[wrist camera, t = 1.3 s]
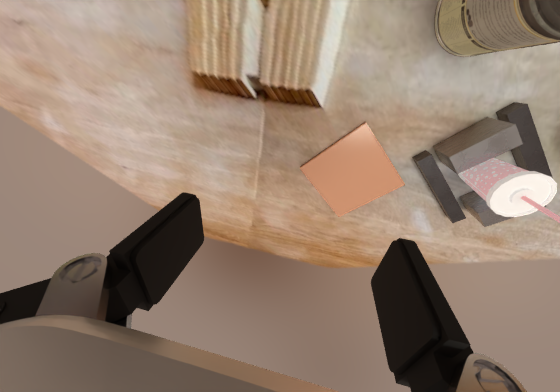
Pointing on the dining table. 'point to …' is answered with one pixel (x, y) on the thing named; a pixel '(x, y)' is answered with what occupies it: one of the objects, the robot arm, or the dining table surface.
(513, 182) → the beverage cup
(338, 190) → the terracotta tile
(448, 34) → the coffee can
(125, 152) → the dining table surface
